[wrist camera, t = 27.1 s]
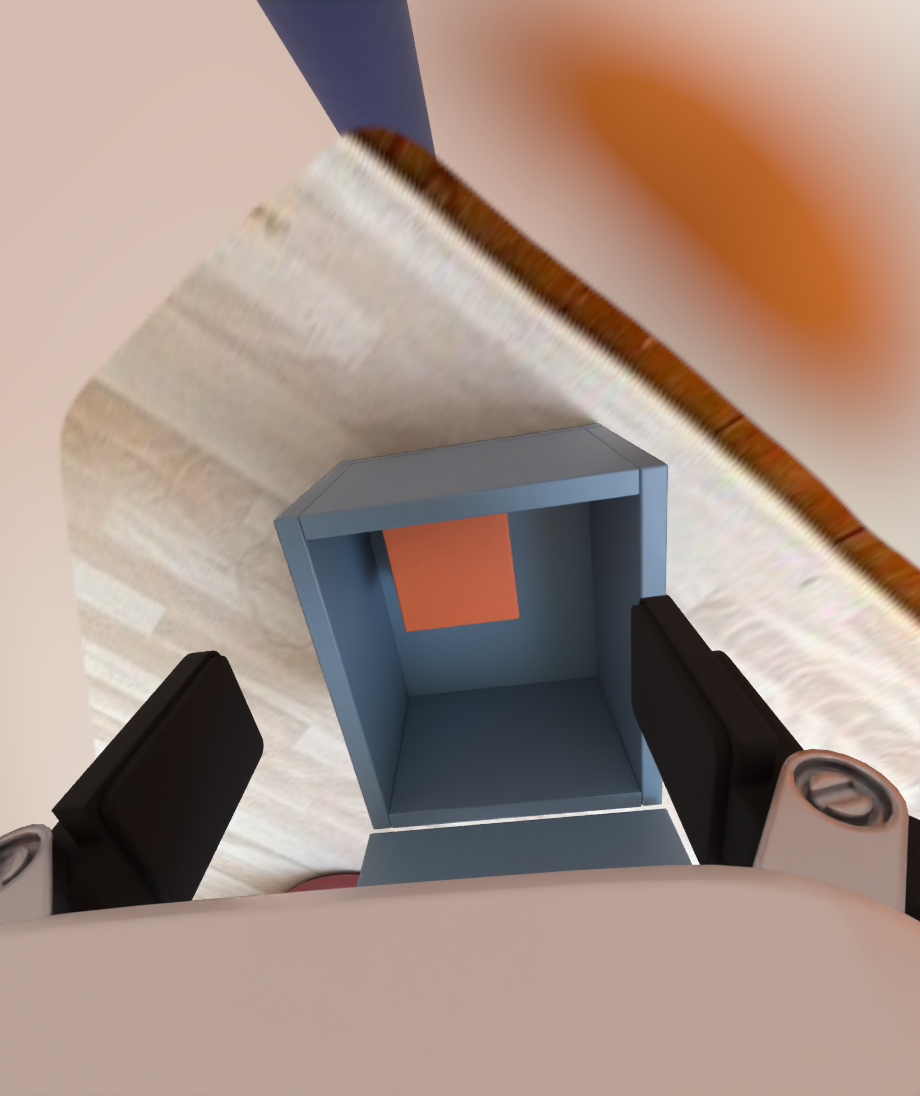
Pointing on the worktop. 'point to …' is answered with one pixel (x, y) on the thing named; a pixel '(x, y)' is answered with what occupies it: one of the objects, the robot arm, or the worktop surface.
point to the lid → (523, 848)
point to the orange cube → (453, 572)
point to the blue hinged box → (489, 627)
